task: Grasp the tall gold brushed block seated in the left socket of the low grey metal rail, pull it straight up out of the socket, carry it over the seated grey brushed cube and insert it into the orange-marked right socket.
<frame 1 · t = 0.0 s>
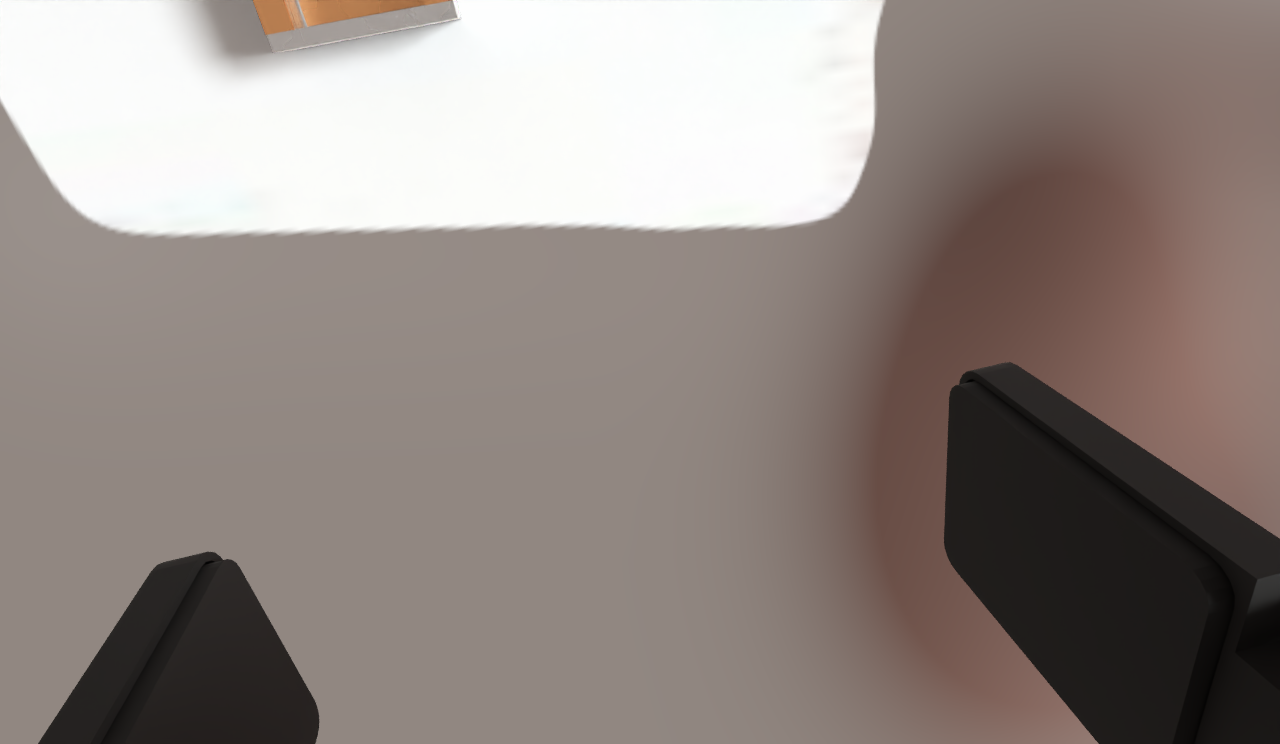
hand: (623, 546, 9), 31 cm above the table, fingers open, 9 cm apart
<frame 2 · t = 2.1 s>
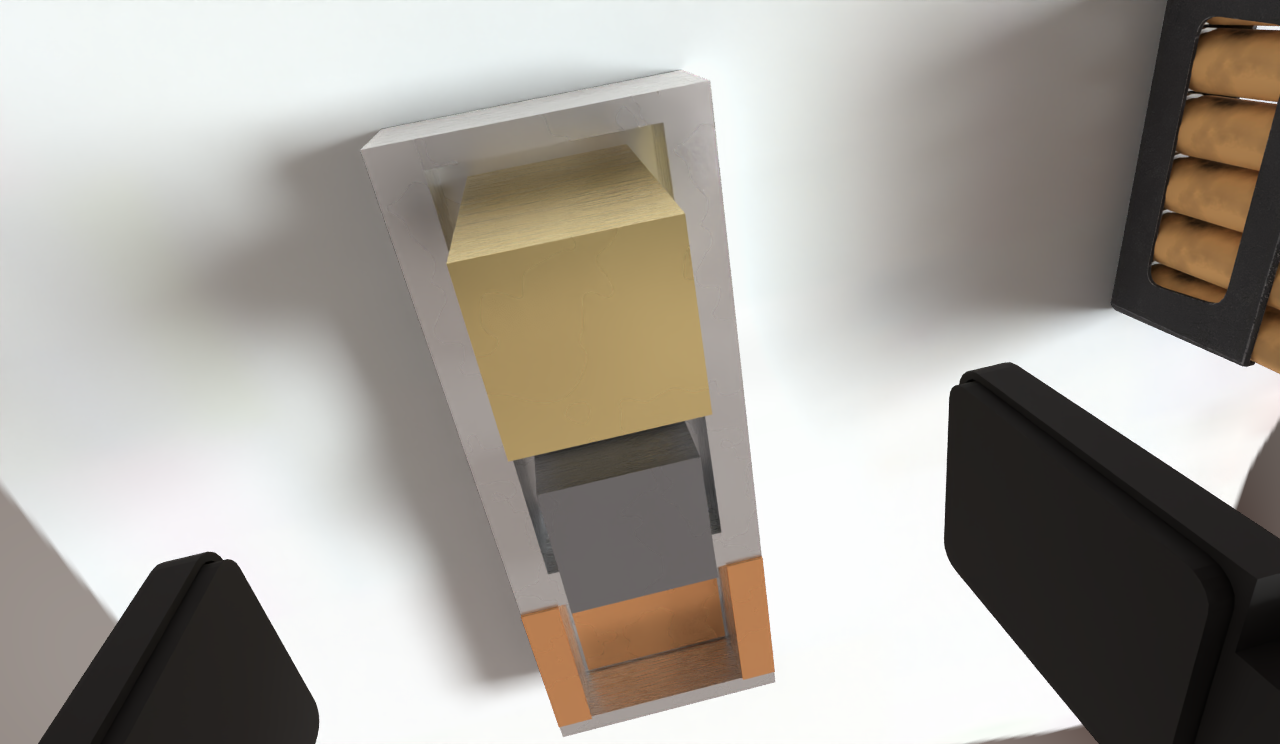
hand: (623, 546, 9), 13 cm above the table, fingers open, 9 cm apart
gold brushed block: (564, 237, 19), point 1 cm above the table, touching rail
grey brushed cube: (611, 446, 23), point 1 cm above the table, touching rail
rail: (607, 429, 24), on the table
ammunition clip: (1160, 147, 22), on the table
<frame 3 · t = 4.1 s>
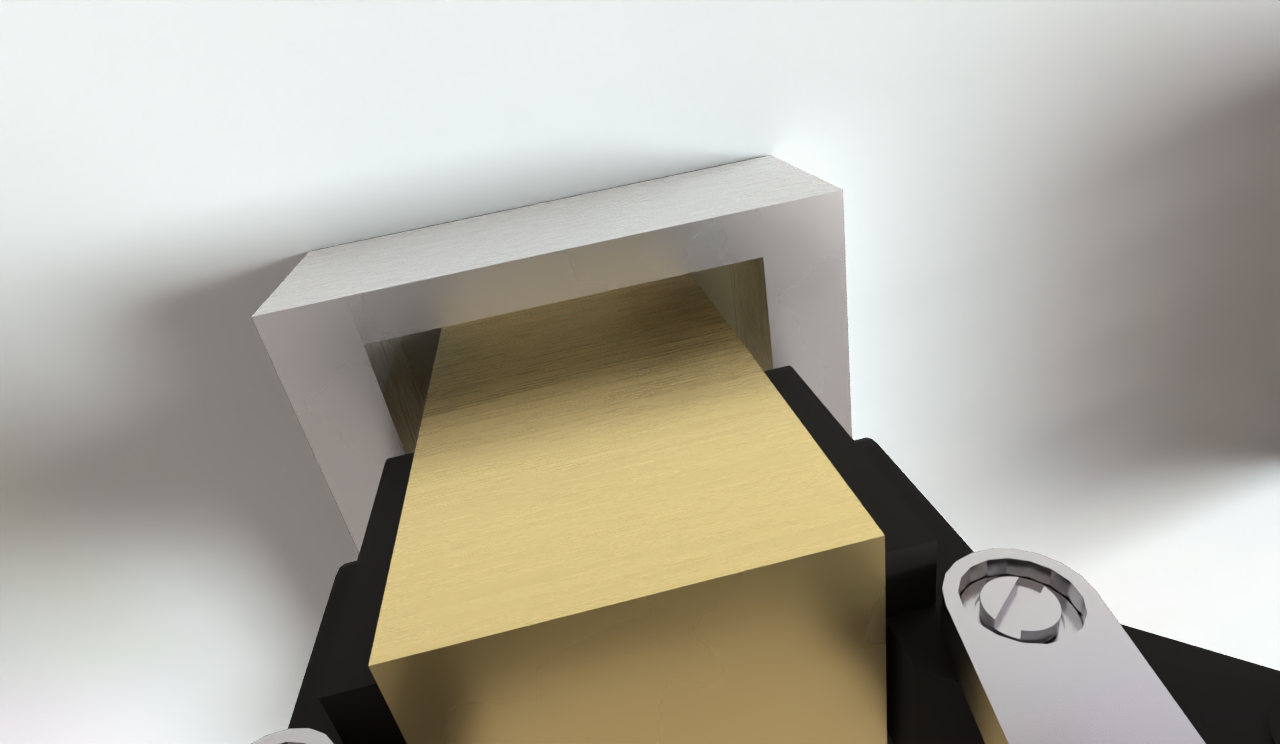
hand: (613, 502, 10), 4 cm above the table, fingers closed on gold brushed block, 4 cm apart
gold brushed block: (592, 405, 13), point 1 cm above the table, touching gripper, rail
rail: (645, 636, 17), on the table
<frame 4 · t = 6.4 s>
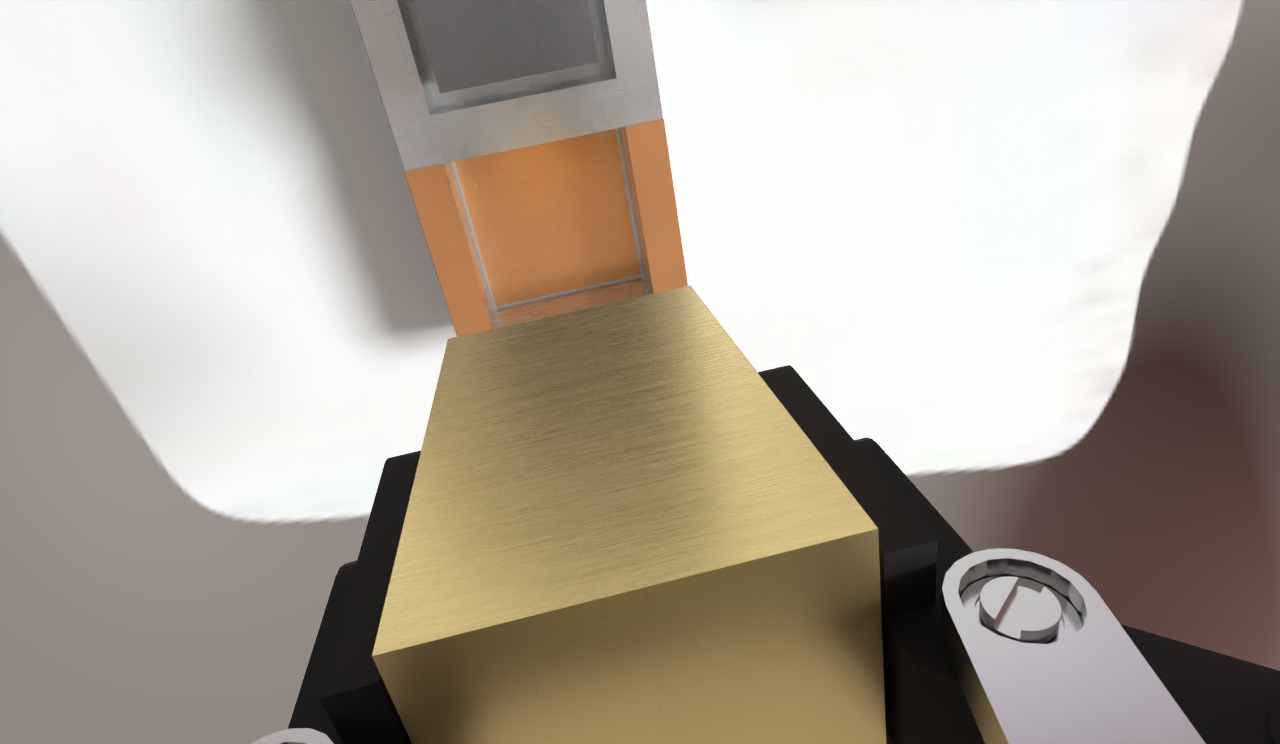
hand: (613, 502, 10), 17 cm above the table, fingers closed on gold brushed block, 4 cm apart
gold brushed block: (595, 418, 13), point 14 cm above the table, touching gripper
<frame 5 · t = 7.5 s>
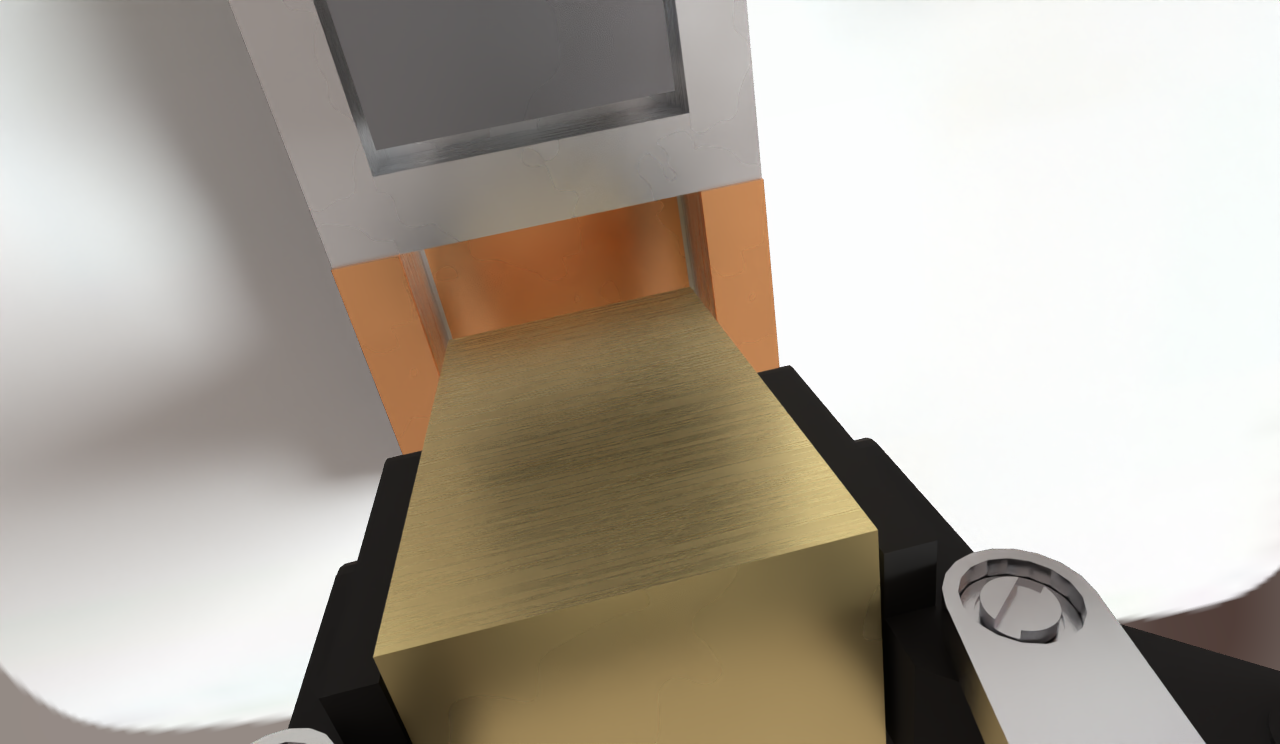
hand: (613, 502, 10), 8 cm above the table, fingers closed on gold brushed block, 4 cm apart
gold brushed block: (595, 419, 13), point 5 cm above the table, touching gripper
when the fingers open (5 cm above the table, at t = 8.7 s): gold brushed block stays where it is, resting on rail.
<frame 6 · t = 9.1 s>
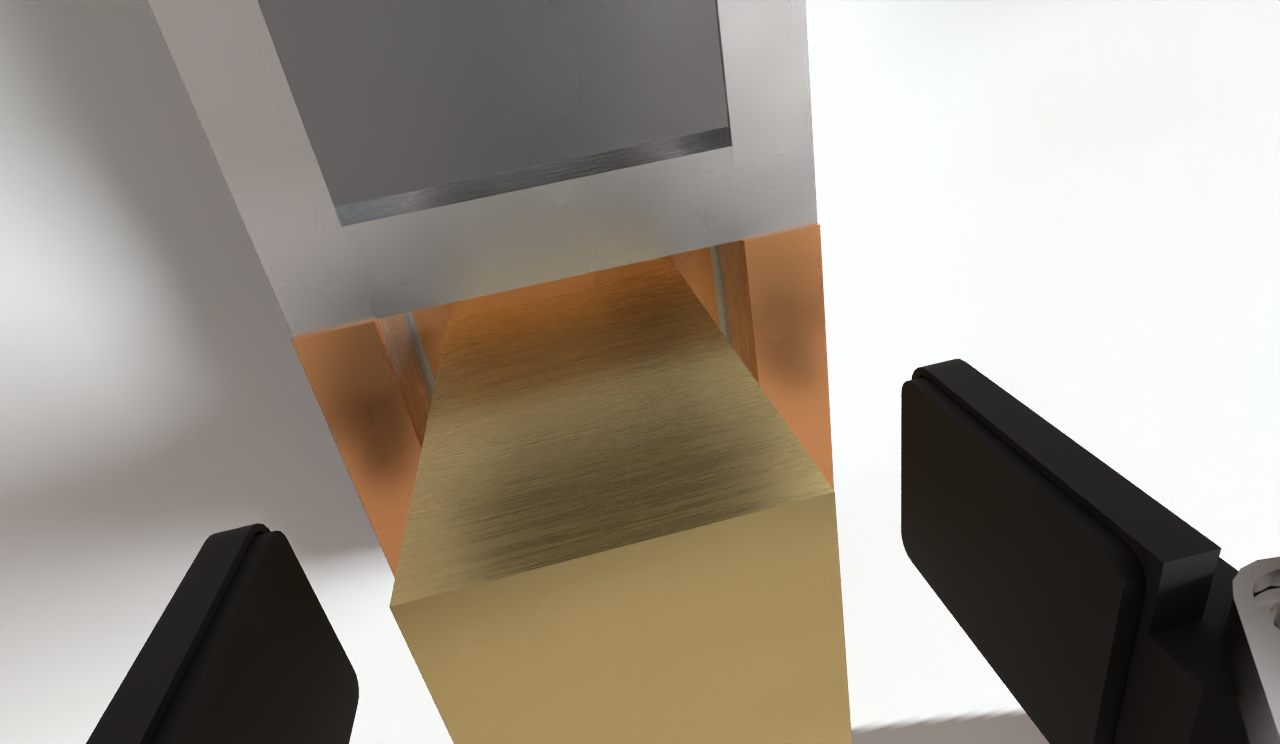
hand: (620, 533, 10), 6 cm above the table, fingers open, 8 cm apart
gold brushed block: (588, 394, 14), point 1 cm above the table, touching rail
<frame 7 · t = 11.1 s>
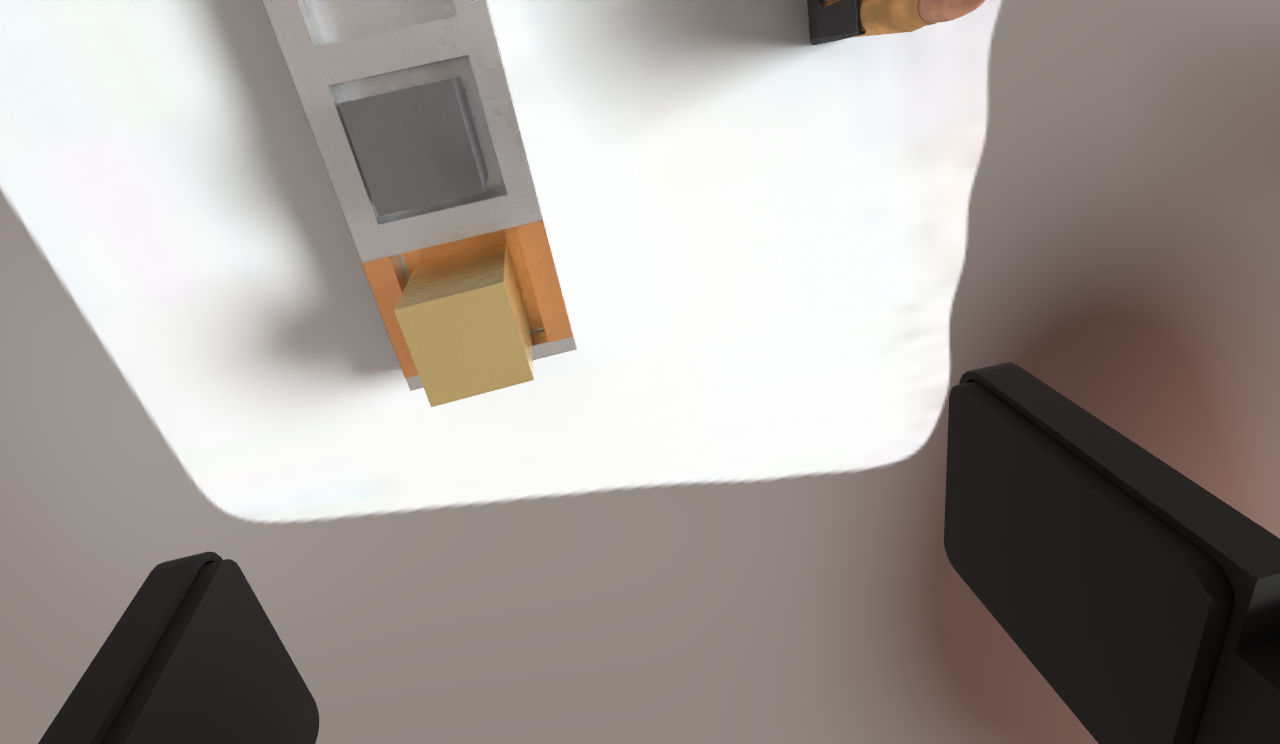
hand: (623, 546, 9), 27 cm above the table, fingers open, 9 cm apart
gold brushed block: (475, 293, 34), point 1 cm above the table, touching rail
grey brushed cube: (427, 138, 31), point 1 cm above the table, touching rail
rail: (429, 136, 32), on the table
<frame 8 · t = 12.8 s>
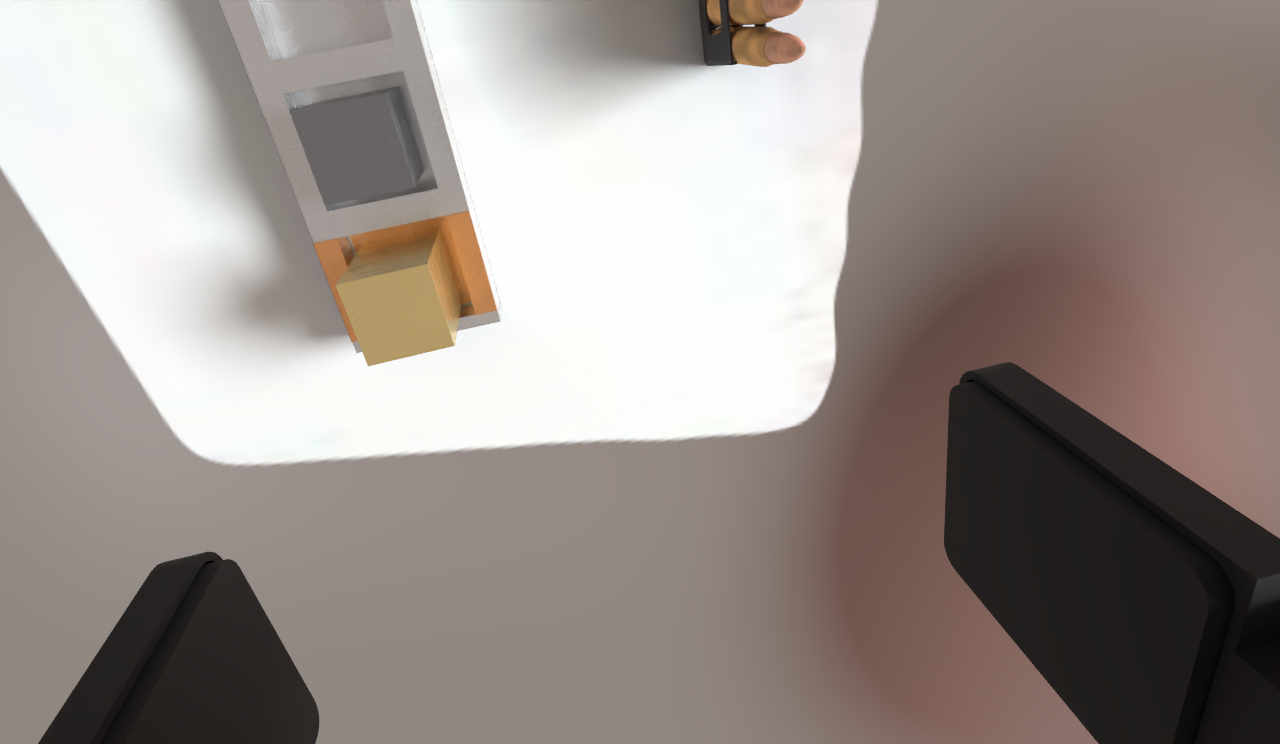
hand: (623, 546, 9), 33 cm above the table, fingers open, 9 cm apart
gold brushed block: (414, 271, 39), point 1 cm above the table, touching rail
grey brushed cube: (371, 137, 36), point 1 cm above the table, touching rail
rail: (374, 134, 37), on the table
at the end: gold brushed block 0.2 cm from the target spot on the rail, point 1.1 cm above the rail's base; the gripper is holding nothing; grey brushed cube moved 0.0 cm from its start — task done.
